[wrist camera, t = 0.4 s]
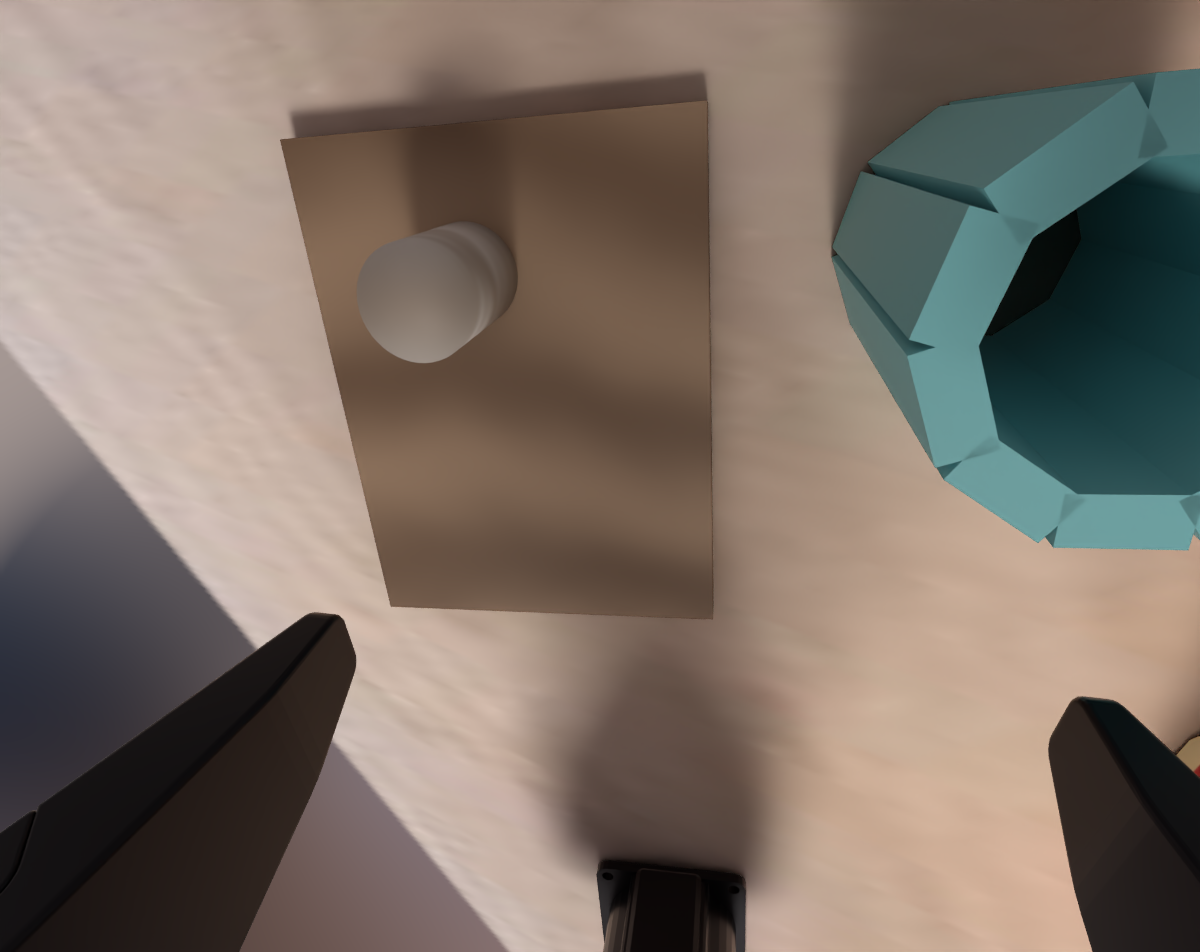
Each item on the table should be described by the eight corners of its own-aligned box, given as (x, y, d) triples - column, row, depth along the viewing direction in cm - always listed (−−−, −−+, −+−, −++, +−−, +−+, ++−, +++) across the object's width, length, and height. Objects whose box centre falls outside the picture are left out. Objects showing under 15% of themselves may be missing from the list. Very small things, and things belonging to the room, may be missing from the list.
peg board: (713, 605, 26) (708, 700, 21) (399, 594, 28) (338, 678, 24) (707, 102, 19) (699, 92, 15) (295, 139, 21) (184, 140, 17)
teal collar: (1095, 367, 20) (1379, 554, 11) (824, 373, 21) (886, 544, 13) (1157, 83, 17) (1609, 32, 8) (839, 111, 19) (934, 92, 10)
